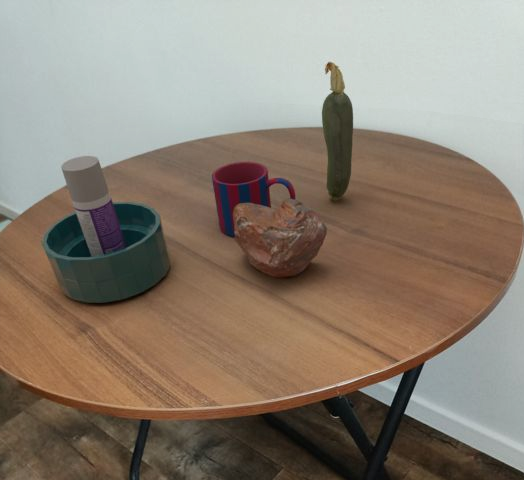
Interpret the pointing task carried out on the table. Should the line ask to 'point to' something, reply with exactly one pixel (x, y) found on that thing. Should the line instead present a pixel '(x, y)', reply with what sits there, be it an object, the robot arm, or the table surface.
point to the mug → (242, 190)
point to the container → (93, 205)
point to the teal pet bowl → (109, 256)
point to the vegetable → (337, 134)
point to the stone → (279, 236)
